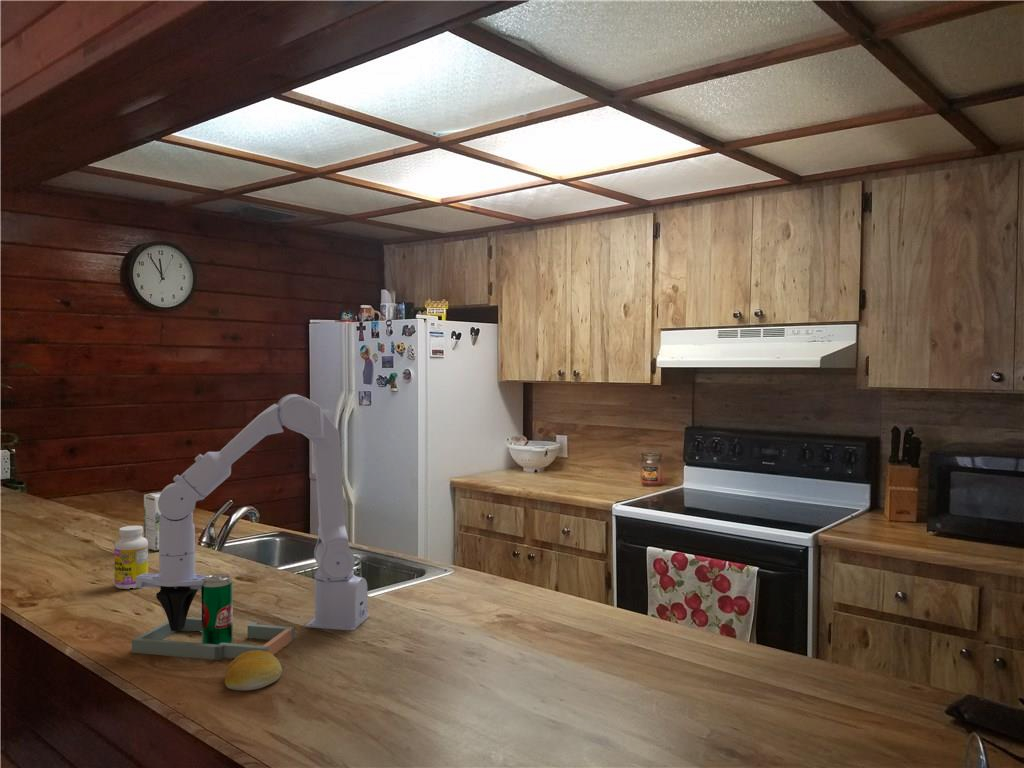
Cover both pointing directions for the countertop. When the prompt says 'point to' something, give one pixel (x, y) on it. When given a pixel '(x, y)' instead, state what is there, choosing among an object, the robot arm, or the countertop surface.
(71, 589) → the countertop surface
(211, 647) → the corral
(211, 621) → the soda can
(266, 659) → the bread roll
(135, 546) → the supplement bottle
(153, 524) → the syrup box
